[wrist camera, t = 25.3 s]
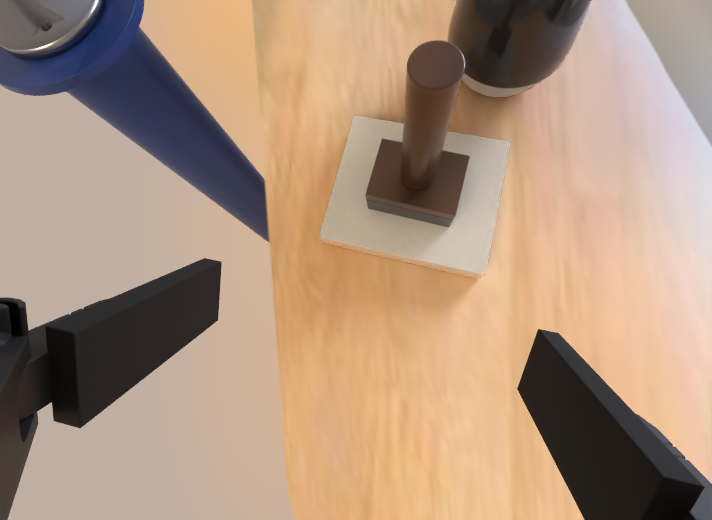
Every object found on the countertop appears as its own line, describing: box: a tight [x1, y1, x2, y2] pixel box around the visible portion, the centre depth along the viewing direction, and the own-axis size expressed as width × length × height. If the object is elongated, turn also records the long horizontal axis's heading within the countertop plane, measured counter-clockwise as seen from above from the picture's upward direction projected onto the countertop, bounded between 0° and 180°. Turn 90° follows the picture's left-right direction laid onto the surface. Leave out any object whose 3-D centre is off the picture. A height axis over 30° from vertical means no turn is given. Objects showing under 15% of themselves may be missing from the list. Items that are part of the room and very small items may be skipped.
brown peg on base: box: [365, 41, 470, 227], centre depth 22 cm, size 7×5×14 cm
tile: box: [319, 115, 511, 279], centre depth 30 cm, size 14×12×2 cm
